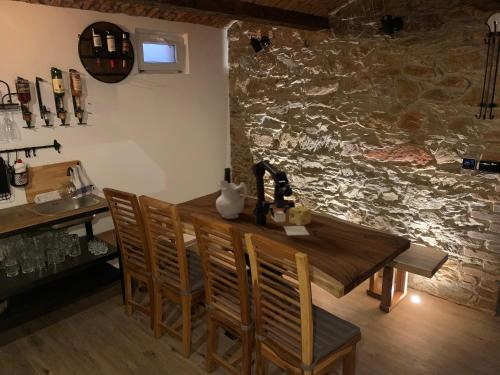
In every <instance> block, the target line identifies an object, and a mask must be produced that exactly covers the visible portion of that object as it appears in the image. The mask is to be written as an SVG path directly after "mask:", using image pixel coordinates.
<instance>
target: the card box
mask: <svg viewBox="0 0 500 375" xmlns="http://www.w3.org/2000/svg"><path fill="white" fill-rule="evenodd" d="M273 215H274V217H272V216H271V219H272V220H273V221H274V222H276V223H285V222H286V214H285V213H283V210H282V209H273Z"/></svg>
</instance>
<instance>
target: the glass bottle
mask: <svg viewBox="0 0 500 375" xmlns="http://www.w3.org/2000/svg"><path fill="white" fill-rule="evenodd" d="M223 171H224V173H223V174H224V176H223V180H224V181H227V182H228V183H232V178H231V172H232V170H231V168H230V167H225V168H224V170H223ZM221 195H222V191H221V188H219V189H218V190H217V191H216V193H215V201H216V200H217V199H218V198H219V197H220V196H221ZM238 195H239V196H240V194H239V192H238Z"/></svg>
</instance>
